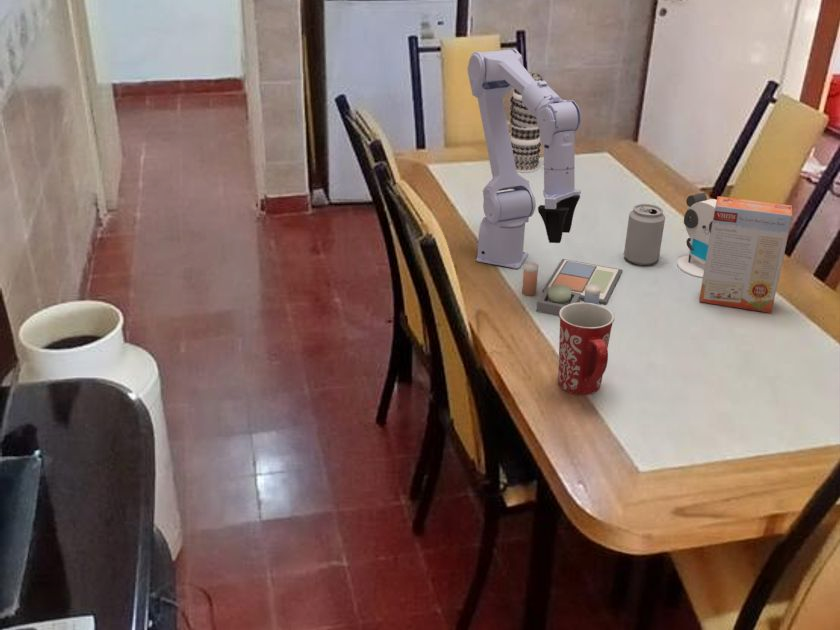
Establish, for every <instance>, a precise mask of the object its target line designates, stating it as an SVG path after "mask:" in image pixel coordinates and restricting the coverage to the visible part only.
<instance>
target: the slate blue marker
mask: <svg viewBox="0 0 840 630" xmlns="http://www.w3.org/2000/svg"><path fill="white" fill-rule="evenodd" d="M600 291H601V287H600V286H598V285H596V284H588V285H586V286H585V297H584V301H583V303H593V304H597V305H600V304H599V297H600Z"/></svg>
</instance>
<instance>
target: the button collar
mask: <svg viewBox="0 0 840 630" xmlns="http://www.w3.org/2000/svg"><path fill="white" fill-rule="evenodd" d="M548 291H549V287H546V289H545V290H544V292H543V293H542V294H541V295H540V297H539V298H538V300H537V302H536V309H535V311H536V312H539V313H540V312H541V313H545V314H550V315H555V316H559V311H560V309H561V308H562V307H564V306H566V305H567V304H558V303H553V302H550V301H549V300H548ZM580 298H581V293H576V292H571V300H570V302H569V304H572V303H581V300H580Z"/></svg>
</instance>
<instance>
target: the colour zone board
mask: <svg viewBox="0 0 840 630" xmlns="http://www.w3.org/2000/svg"><path fill="white" fill-rule="evenodd" d="M621 273H623V269H621V268H617V267H616V268H615V267H610V266H609V267H608V266H605V265H604V266H603V265H598V264H593V263H587V262H582V261H577V260H576V261H575V260H571V259H566V258H562V259H561V260H560V262H559V263H558V264H557V266H556V268H555V270H554V272H553V273H552V275H551V276H550V278H549V279H548V281H547V283H546V284H545V285H544V287H543V288H542V293H543V292H544V290H545V289H546V287H551V286H553V285H564V286H567V287H569V288H570V289H571V292H576V293H581V298H580V301H583V302H584V297H585V286H586V285H588V284H596V285H598V286H600V287H601V291H600V297H599V305H602V306H603V305H604V306H607V305H608V303H609V300H610V298H611V295H612V294H613V292H614V290H615V287H616V286H617V284H618V281H619V280H620V277H621V276H620V275H622V274H621Z"/></svg>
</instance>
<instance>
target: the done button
mask: <svg viewBox="0 0 840 630" xmlns="http://www.w3.org/2000/svg"><path fill="white" fill-rule="evenodd" d="M570 300H571V289H570V288H569V287H567V286H564V285H553V286H551V287H549V291H548V302H553V303H558V304H563V305H568V303H569V302H570ZM569 304H570V303H569Z"/></svg>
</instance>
